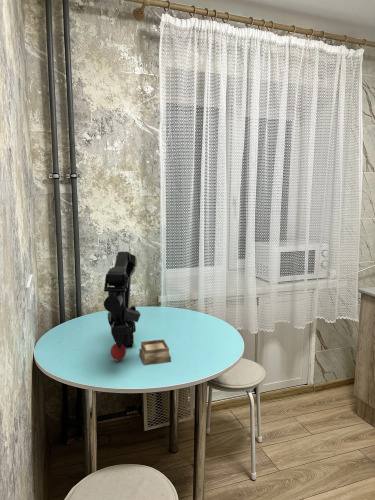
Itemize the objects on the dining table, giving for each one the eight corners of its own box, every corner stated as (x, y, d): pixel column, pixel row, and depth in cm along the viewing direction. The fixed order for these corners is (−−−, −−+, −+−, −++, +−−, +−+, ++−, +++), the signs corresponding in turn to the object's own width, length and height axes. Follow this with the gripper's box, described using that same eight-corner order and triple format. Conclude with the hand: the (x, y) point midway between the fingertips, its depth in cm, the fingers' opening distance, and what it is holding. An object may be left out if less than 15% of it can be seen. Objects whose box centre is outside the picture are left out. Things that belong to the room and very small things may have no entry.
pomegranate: (119, 356, 148) (119, 336, 147) (129, 360, 144) (128, 340, 143) (107, 361, 143) (107, 341, 142) (117, 365, 140) (117, 345, 139)
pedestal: (143, 364, 140) (143, 351, 140) (139, 353, 150) (139, 341, 150) (170, 361, 143) (170, 348, 143) (164, 350, 153) (164, 338, 152)
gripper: (142, 309, 134) (143, 350, 136) (134, 295, 152) (135, 332, 154) (111, 312, 131) (112, 354, 133) (106, 297, 148) (108, 334, 151)
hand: (118, 343), depth 143 cm, fingers open, 9 cm apart
